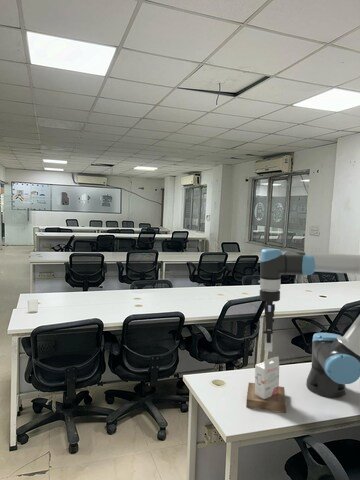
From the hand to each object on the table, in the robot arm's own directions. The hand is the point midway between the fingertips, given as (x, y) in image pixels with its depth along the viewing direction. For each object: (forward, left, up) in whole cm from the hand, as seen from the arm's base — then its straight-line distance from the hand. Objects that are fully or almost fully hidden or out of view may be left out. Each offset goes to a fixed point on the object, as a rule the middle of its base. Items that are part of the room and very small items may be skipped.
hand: (268, 344), depth 134 cm
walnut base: (0, 0, -22) cm, 22 cm away
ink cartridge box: (0, +1, -19) cm, 19 cm away
